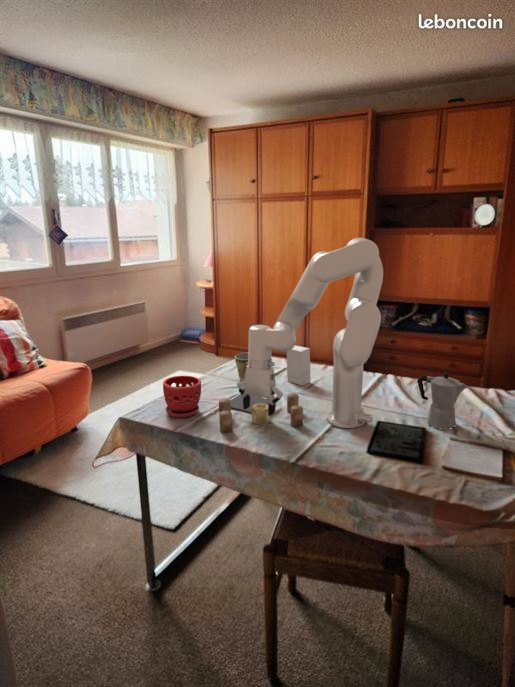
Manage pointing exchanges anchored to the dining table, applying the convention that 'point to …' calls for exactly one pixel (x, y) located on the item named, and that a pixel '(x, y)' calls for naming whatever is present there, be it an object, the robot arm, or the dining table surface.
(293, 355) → the skincare box
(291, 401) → the cylinder
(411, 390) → the dining table surface
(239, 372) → the ceramic cup
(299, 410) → the cylinder
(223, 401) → the cylinder
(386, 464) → the dining table surface
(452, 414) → the coffeepot
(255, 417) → the tan faceted block
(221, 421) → the cylinder
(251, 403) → the mat
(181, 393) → the plant pot
